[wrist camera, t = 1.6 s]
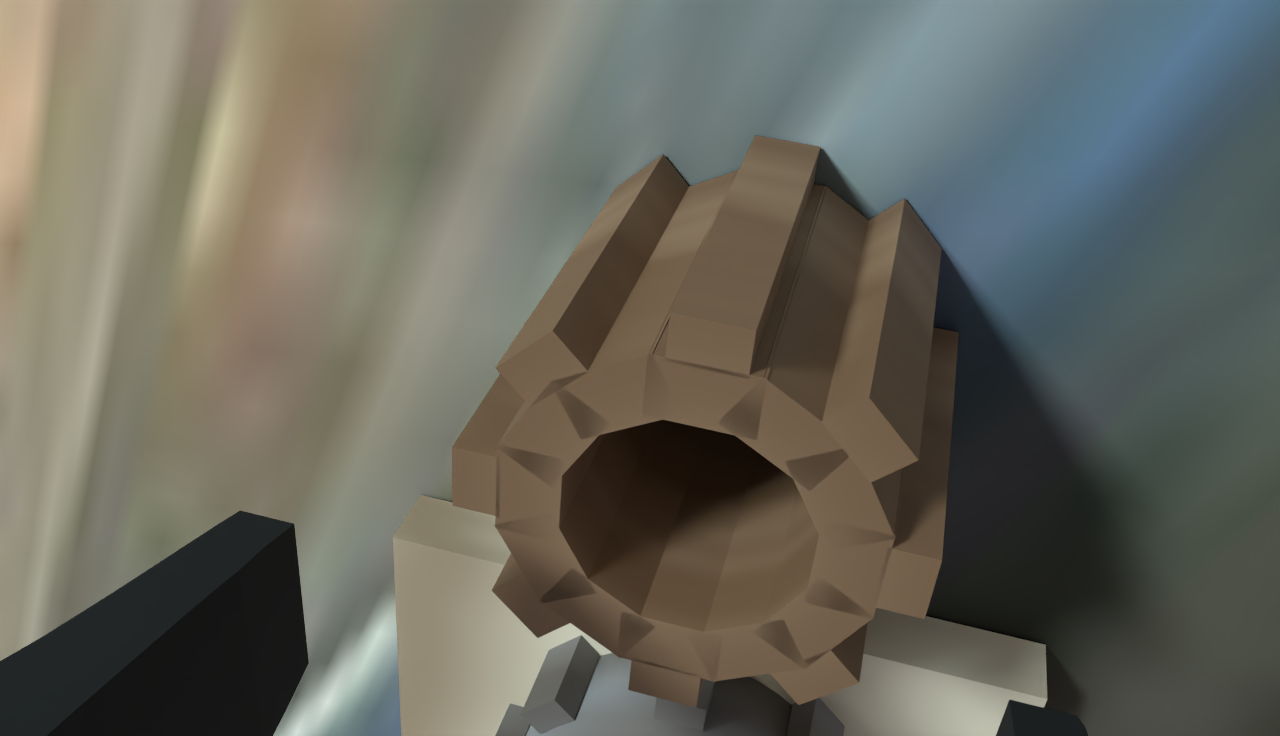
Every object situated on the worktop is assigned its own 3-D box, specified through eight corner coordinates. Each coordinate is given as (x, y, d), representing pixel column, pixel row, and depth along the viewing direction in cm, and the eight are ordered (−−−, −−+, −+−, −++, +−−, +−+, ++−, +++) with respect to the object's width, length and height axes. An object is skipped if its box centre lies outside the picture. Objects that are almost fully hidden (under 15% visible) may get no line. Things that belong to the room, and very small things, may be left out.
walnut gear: (1000, 179, 16) (995, 379, 12) (911, 508, 19) (883, 756, 15) (587, 104, 17) (451, 267, 13) (567, 431, 20) (453, 644, 16)
